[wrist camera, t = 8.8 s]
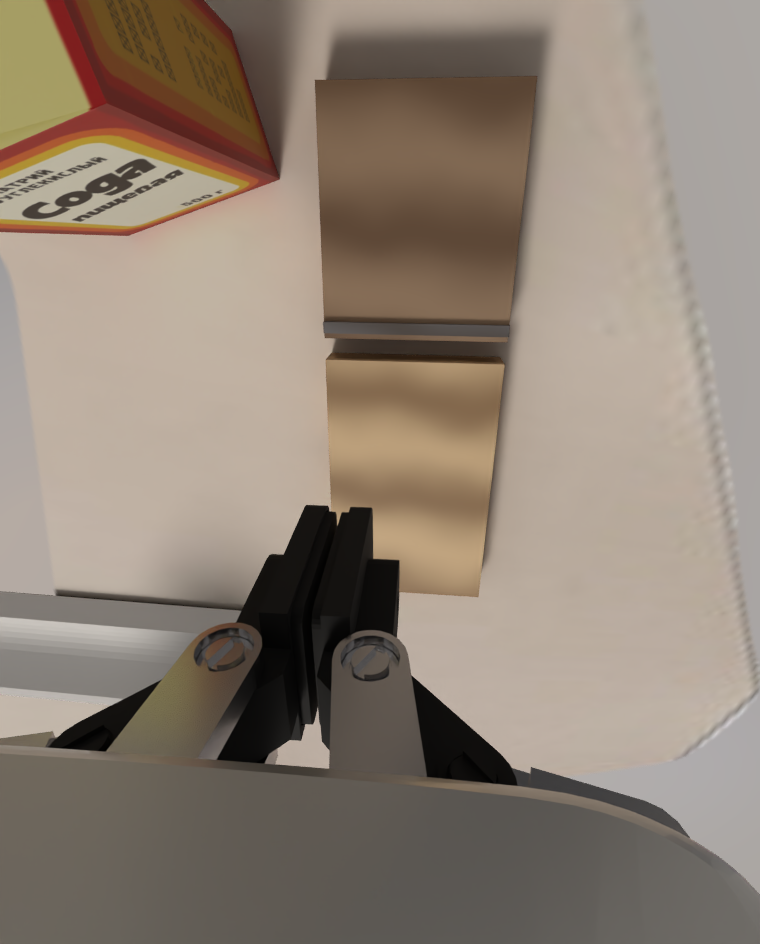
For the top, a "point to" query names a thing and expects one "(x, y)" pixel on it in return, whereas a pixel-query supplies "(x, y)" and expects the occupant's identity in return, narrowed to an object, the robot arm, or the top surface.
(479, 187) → the walnut board
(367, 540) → the robot arm
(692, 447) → the top surface
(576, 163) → the top surface
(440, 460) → the oak plank
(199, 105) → the baking soda box
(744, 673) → the top surface
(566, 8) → the top surface
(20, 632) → the crown molding
